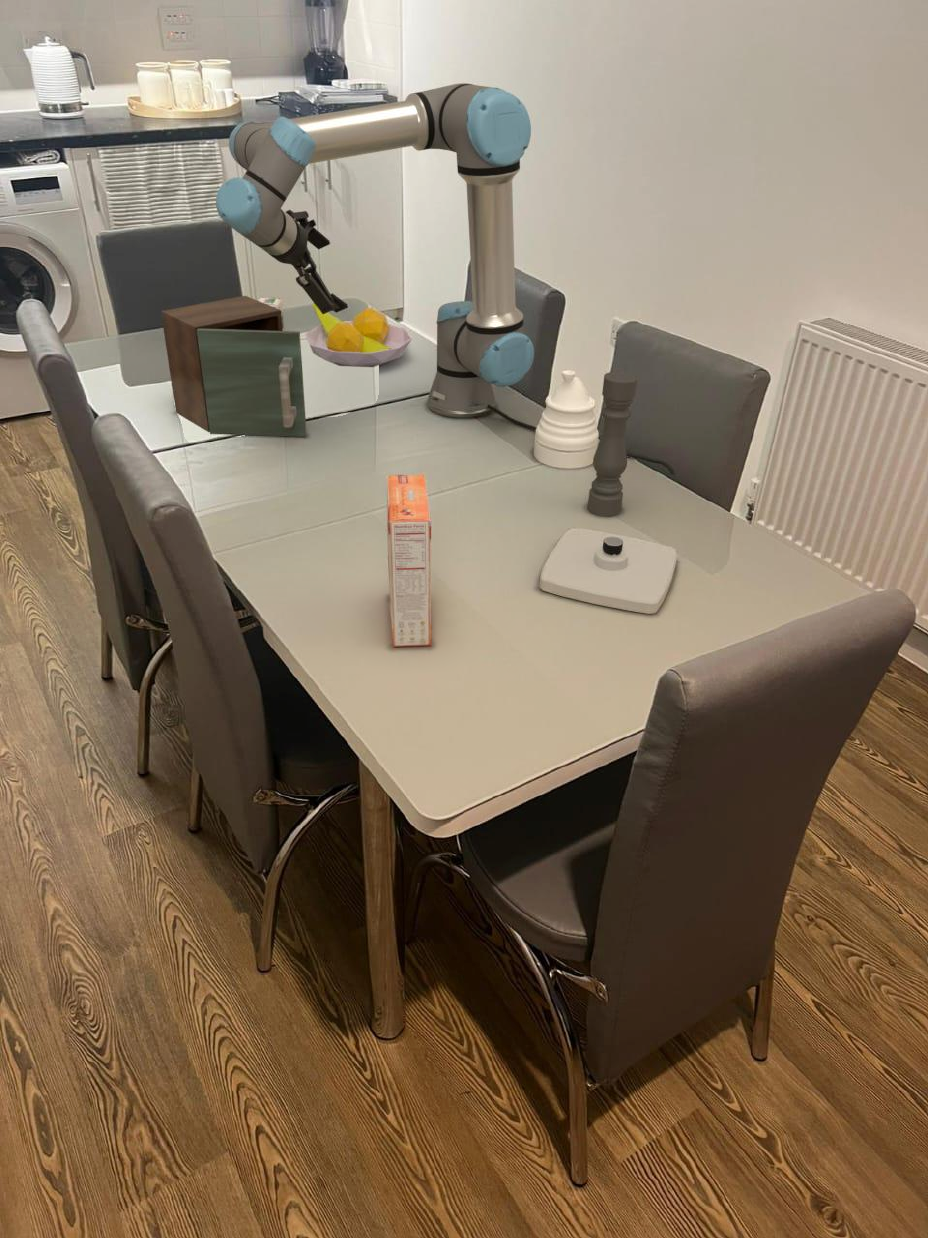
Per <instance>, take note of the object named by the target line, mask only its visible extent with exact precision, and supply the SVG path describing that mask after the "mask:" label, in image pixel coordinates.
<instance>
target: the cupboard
mask: <svg viewBox="0 0 928 1238" xmlns="http://www.w3.org/2000/svg"><path fill="white" fill-rule="evenodd" d="M160 314H161V320H162V327H163V328H162V329H163V334H164V341H165V349H166V355H167V361H168V368H169V375H170V382H171V389H172V396H173V402H174V408H175V413H176V414H177V415H179V416H181V417H182V418H184V419H186V420H187V421H188V422H191V423H192V424H194V425H195V426H197V427H199V428H200V429H202V430H204V431H205V432H207V433H210V430H209V422H208V414H207V406H206V399H205V391H204V383H203V375H202V367H201V360H200V352H199V344H198V336H197V329H198V328H199V329H232V330H265V331H283V329H282V316H281V310H279V309H276V308H274V307H272V306H269V305H267V304H264V303H262V302H259V301H258V300H257V299H254V298H252V297H249V296H247V295H241V296H236V297H231V298H225V299H219V300H214V301H209V302H203V303H198V304H192V305H186V306H182V307H176V308H171V309H166V310H165V309H164V310H161V311H160Z"/></svg>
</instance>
